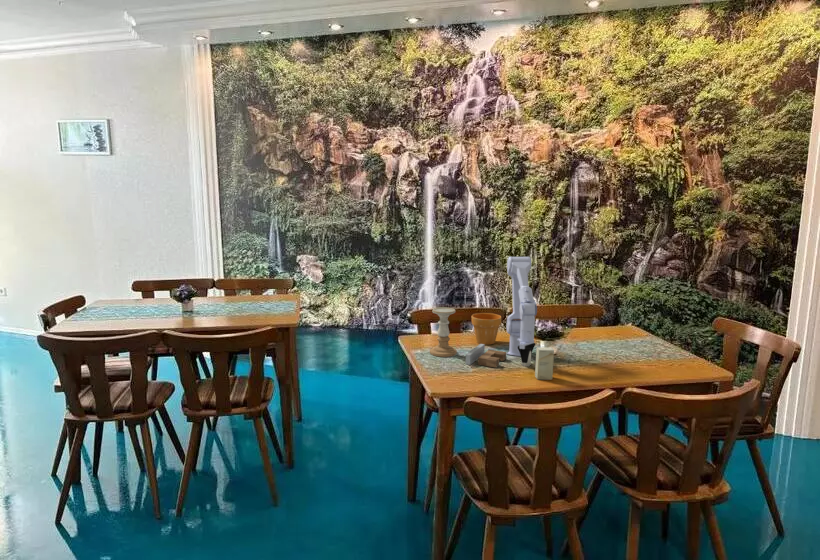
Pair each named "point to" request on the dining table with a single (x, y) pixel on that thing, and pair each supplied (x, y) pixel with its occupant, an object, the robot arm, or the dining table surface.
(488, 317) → the flower pot
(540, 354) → the skincare box
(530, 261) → the robot arm
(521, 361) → the dowel
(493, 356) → the block
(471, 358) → the wall
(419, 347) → the dining table surface
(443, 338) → the candle holder
